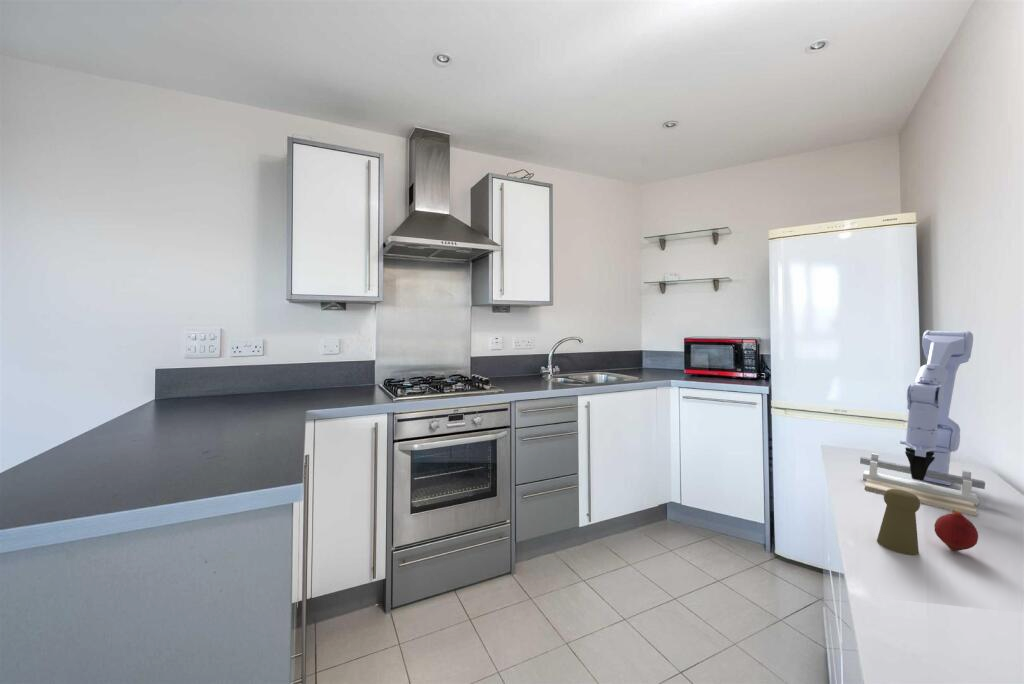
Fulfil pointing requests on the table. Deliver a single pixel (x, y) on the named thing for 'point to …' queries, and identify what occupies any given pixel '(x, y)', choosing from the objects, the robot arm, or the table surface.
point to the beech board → (925, 497)
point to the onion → (956, 531)
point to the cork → (900, 522)
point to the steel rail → (929, 473)
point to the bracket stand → (963, 494)
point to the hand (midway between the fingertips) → (917, 477)
